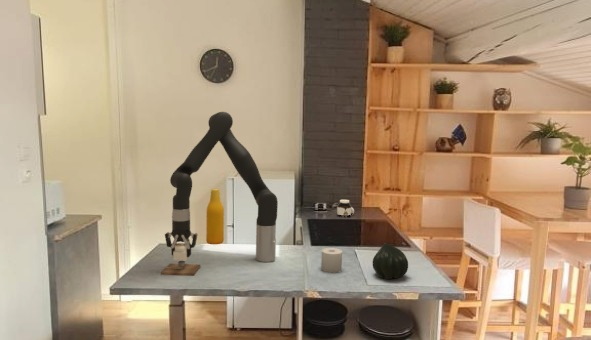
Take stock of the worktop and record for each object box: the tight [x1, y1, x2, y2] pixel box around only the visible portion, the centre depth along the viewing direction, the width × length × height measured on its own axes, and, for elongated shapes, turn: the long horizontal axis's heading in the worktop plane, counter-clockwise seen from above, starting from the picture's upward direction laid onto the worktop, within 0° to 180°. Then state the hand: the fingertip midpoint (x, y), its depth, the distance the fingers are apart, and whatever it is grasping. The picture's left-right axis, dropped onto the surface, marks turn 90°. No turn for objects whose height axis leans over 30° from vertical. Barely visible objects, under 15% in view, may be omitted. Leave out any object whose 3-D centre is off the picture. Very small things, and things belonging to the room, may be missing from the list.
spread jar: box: [336, 199, 355, 216], centre depth 297 cm, size 12×11×12 cm
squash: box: [372, 243, 409, 280], centre depth 180 cm, size 14×15×15 cm
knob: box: [172, 242, 189, 261], centre depth 179 cm, size 6×6×6 cm
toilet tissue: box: [320, 247, 343, 274], centre depth 188 cm, size 9×13×9 cm
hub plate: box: [160, 260, 202, 277], centre depth 180 cm, size 14×11×4 cm
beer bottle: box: [206, 188, 225, 245], centre depth 222 cm, size 9×9×29 cm
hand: (181, 256), depth 179 cm, fingers closed on knob, 5 cm apart
